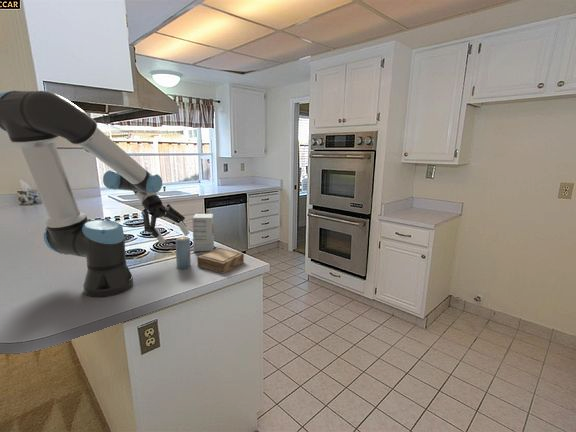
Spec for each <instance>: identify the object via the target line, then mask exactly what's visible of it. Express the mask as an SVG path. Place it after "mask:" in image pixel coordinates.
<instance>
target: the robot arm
mask: <svg viewBox="0 0 576 432" xmlns="http://www.w3.org/2000/svg"><path fill="white" fill-rule="evenodd" d="M0 129H1V130H2V131H5V132H6V133H7V135H8V138H9V140H10V141H11V143H12V144H14V145H16V146H18V147H19V148H20V150H21V152H22V155H23V157H24V159H25V160H24V161H25V163H26V164H27V167H28V169H29V172H30V174H31V177H32V179H33V182H34V184H35V186H36V189H37V191H38V194H39V197H40V198H41V202H42V204H43V207H44V208H45V212H46V214H47V216H48V219H47V221H46V222H45V226H46V227H45V229H44V230H45V232H44V233H43V241H44V243H45V245H46V246H47V248H48V249H49V250H51V251H53V252H55V253H59V254H61V255H69V256H75V257H80V258H81V257H82V258H86V260H85V261H86V266H87V270H86V274H85V276H84V277H85V278H84V282H83V293H84V295H86V296H89V297H94V298H100V297H101V298H102V297H109V296H115V295H119V294H121V293H124V292H125V291H128V290H129V289H131V288H132V287H133V285H134V278H133V273H132V272H131V271H130V269H129V266H128V265H127V259H126V258H127V257H126V241H125V233H124V228H123V226H122V225H121V223H119V222H116V221H113V220H108V219H107V220H102V219H95V220H90V221H89V220H88V217H87V216H88V215H87V214H86V213H85V212H82V211H81V210H79V207H78V204H77V201H76V197H75V196H74V192H73V190H72V187H71V184H70V182H69V179H68V176H67V173H66V170H65V167H64V165H63V161H62V159H61V156H60V153H59V151H58V148H57V145H56V142H57V140H58V139H59V137H61V138H63V139H65V140H67V141H68V143H69V142H70V143H71V144H73V145H80V146H81V147H82V148H83V149H84V150H86V151H87V152H89V154H91V155H93V156H94V157H95V158H97V159H98V160H99V161H100V162H102V163H103V164H104V165H106V166H107V167H108V168H110V169H111V170H107V171H105V173H104V174H103V176H102V182H103V183H102V184H103V185H104V186H105V187H106V188H107V189H109V190H115V191H116V190H120V191H121V190H122V191H132V192H133V193H134V195H135V196H136V197H137V199H138V201H139V202H140V203H141V205H142V207H143V208H144V209H142V211H141V212H140V213H141V216H142V218H143V219H142V220H143V227H144V232H147V233H149V234H152V236H153V237H154V238H156V239H157V241H158V242H159V244H160V245H163V244H164V243H165V242H166V239H165V237H164V236H163V234H162V233H161V231H160V230H159V229H158V228H157V227H156V225H157V224H156V222H157V219H159V218H167V219H170V220H171V221H173V222H175V223H176V224H177V226H178V228H179V229H180V231H181V232H182V234H183V235H184V237H188V235H189V234H190V231H189V229H188V227H187V225H186V223H184V220H185V219H186V218H185V216H184V215H182V214H181V213H180V212H178V211H177V210H176V209H174V208H173V207H172V206H171V204H169V203H167V205H163V202H162V200H161V197H159V195H157V193H159V192H160V191H161V190H162V187H163V179H162V177H161V175H160V174H157V173H153V172H151V173H150V172H149V171H148V170H146V169H145V168H144V167H143V166H142V165H140V163H139V162H137V161H136V160H135V159H134V158H132V157H131V156H130V154H128V153H127V152H126V151H125V150H124V149H123V148H121V146H119V145H118V144H117V143H116V142H114V141H113V140H112V139H111V138H110V137H109V136H107V134H105V133H104V131H102V130H101V129H100V128H99V127H98V123H97V121H96V120H95V119H94V118H92V117H91V116H90V114H88V113H86V112H85V111H84V110H83V109H82V108H80V107H79V106H77V105H76V104H74V103H73V102H71V101H70V100H68V99H67V98H65V97H63V96H61V95H59V94H58V93H54V92H51V91H47V90H36V91H34V90H9V91H5V92H1V93H0ZM150 216H151V217H150Z"/></svg>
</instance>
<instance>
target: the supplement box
mask: <svg viewBox="0 0 576 432" xmlns="http://www.w3.org/2000/svg"><path fill="white" fill-rule="evenodd" d="M214 219H215V218H214V214H213V213H194V215H193V217H192V242H193V243H192V245H193V252H210V251H213V250H214V247H215V235H214V233H215V230H214V227H215V226H214Z"/></svg>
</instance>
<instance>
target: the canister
mask: <svg viewBox="0 0 576 432" xmlns="http://www.w3.org/2000/svg"><path fill="white" fill-rule="evenodd" d="M175 257H176V258H175V259H176V261H175V263H176V269H178V270H189V268H191V267H192V265H191V262H192V261H191V260H192V259H191V239H190V238H189V237H188V236H179V237H177V238H176V239H175Z"/></svg>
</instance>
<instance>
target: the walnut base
mask: <svg viewBox="0 0 576 432" xmlns="http://www.w3.org/2000/svg"><path fill="white" fill-rule="evenodd" d="M244 257H245V254H244V253H243V252H238V251H235V250H230V249H225V248H221V247H218V248H215V249H213V251H207V252H205V253H203V254H201V255H199V256H197V267H202V268H204V269H208V270H212V271H215V272H218V273H223V274H224V273H226V272H228V271H230V270H232V269H233V268H235V267H237V266H239V265H241V264H243V263H244V261H245V258H244Z"/></svg>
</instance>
